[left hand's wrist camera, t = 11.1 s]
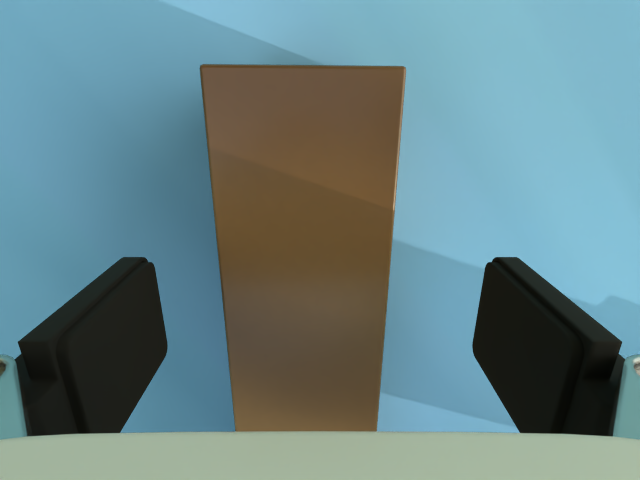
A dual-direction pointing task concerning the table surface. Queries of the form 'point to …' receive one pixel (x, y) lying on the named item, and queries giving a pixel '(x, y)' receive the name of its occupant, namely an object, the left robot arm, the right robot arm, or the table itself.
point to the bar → (304, 236)
